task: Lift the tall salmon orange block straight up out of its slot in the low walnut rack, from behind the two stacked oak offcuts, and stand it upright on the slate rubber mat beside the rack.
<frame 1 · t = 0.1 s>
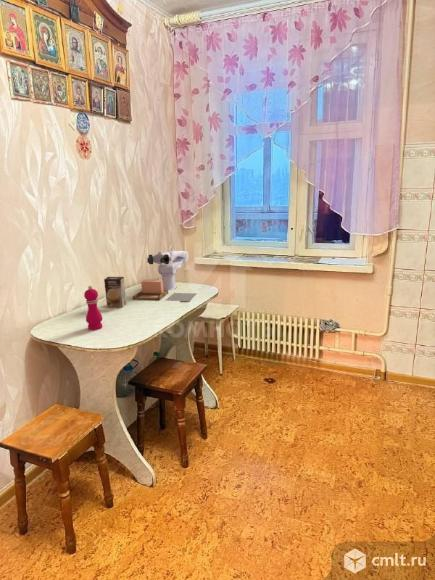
hand: (154, 260, 222), 22 cm above the table, tool horizontal, fingers open, 7 cm apart
mat: (181, 297, 226), on the table
salmon orange block: (153, 296, 232), on the table
offcut top: (148, 298, 226), resting on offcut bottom
pepper mill: (95, 328, 182), on the table
rack: (150, 297, 229), on the table
coffee box: (116, 307, 214), on the table
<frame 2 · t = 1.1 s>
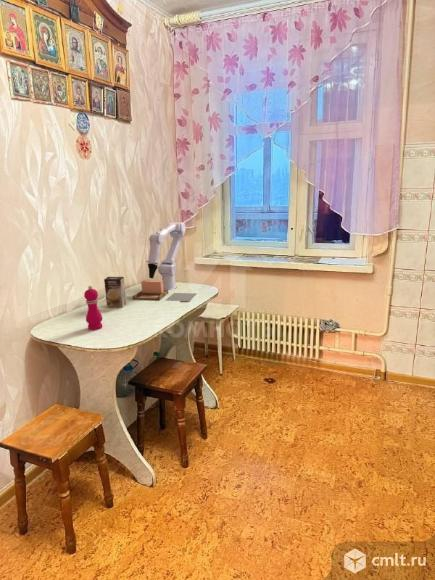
hand: (151, 277, 227), 11 cm above the table, tool tilted 20°, fingers open, 7 cm apart
nothing on the table moved.
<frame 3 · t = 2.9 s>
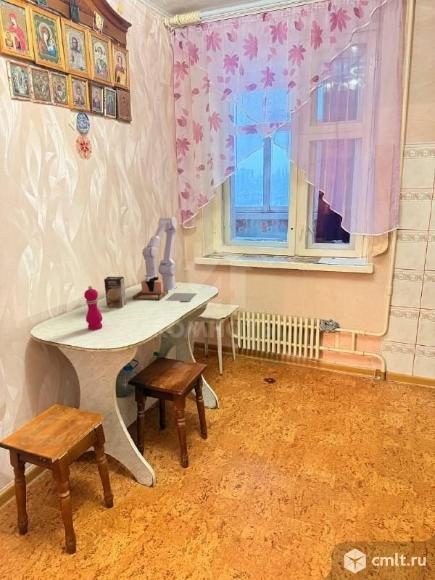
hand: (152, 290, 231), 3 cm above the table, tool pointing down, fingers closed on salmon orange block, 3 cm apart
salmon orange block: (153, 295, 232), on the table, touching gripper
everything else where it was.
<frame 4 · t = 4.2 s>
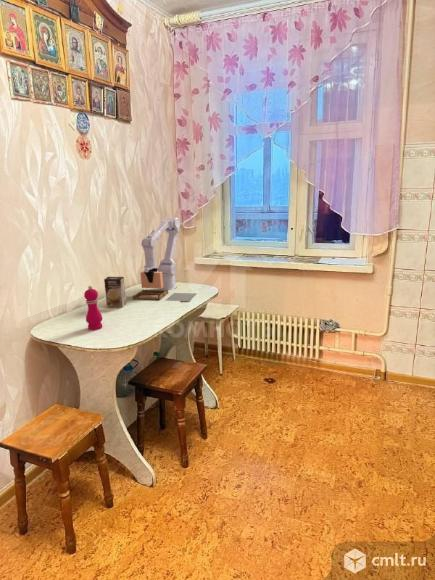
hand: (152, 281, 230), 8 cm above the table, tool pointing down, fingers closed on salmon orange block, 3 cm apart
salmon orange block: (152, 287, 231), point 5 cm above the table, touching gripper
offcut top: (148, 298, 226), point 1 cm above the table
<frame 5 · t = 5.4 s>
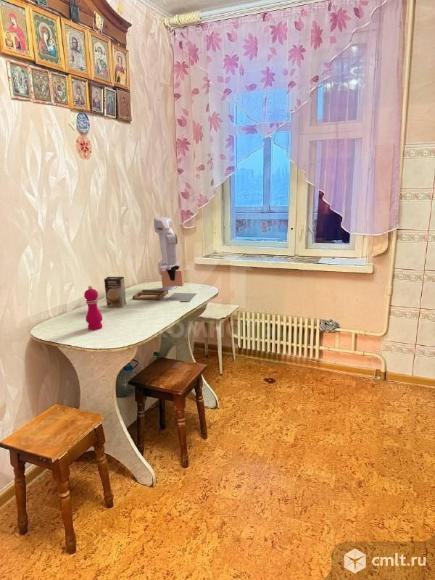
hand: (173, 279, 225), 10 cm above the table, tool pointing down, fingers closed on salmon orange block, 3 cm apart
salmon orange block: (173, 285, 226), point 7 cm above the table, touching gripper
offcut top: (148, 298, 226), resting on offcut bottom
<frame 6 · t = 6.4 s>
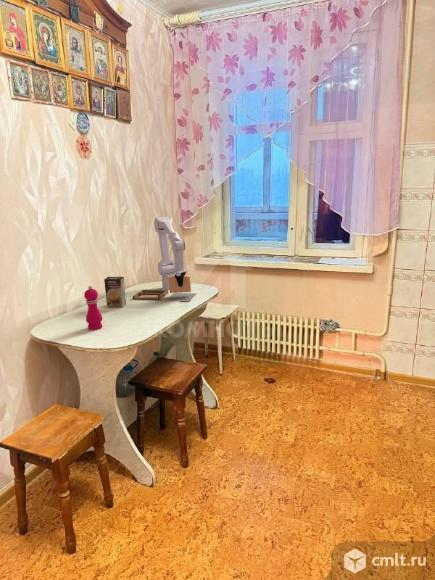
hand: (181, 285, 225), 7 cm above the table, tool pointing down, fingers closed on salmon orange block, 3 cm apart
salmon orange block: (180, 291, 226), point 3 cm above the table, touching gripper
everything else where it was.
when the fingers open (5 cm above the table, at t = 7.2 s): salmon orange block stays where it is, resting on mat.
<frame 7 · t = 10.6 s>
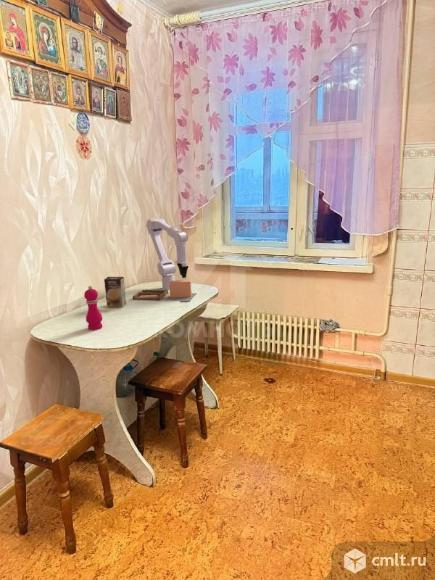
hand: (183, 276, 232), 10 cm above the table, tool pointing down, fingers open, 7 cm apart
salmon orange block: (180, 296, 227), resting on mat
offcut top: (148, 298, 226), resting on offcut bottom
at the end: salmon orange block inside the target area on the mat (0.4 cm from its centre), point 0.5 cm above the mat's base; salmon orange block tilted 0°; offcut top moved 0.7 cm from its start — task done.
